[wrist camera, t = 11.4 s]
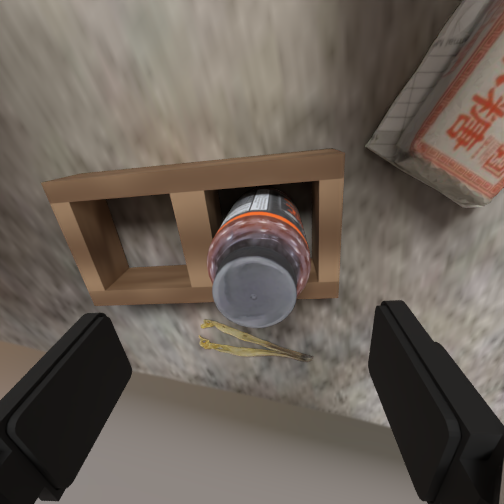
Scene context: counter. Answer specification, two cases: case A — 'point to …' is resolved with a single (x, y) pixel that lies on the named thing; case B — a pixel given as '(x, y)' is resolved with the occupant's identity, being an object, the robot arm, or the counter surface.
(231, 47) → the counter surface
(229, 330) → the tongs
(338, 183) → the rack
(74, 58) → the counter surface
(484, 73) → the packaged product
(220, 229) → the supplement bottle
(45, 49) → the counter surface
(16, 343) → the counter surface
